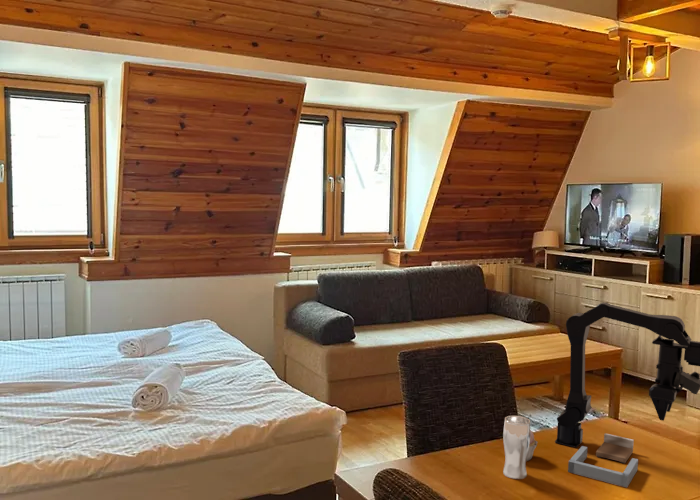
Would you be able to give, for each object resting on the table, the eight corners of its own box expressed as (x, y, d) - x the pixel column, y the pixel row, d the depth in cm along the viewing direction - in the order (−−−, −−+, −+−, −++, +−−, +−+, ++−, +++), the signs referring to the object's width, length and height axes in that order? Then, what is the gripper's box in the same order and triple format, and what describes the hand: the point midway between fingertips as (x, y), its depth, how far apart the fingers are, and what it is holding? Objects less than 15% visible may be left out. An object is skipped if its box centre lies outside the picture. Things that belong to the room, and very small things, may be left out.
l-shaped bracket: (595, 456, 180) (596, 443, 180) (604, 446, 189) (605, 433, 188) (625, 464, 176) (626, 450, 176) (632, 452, 184) (633, 439, 184)
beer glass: (513, 482, 163) (516, 426, 162) (496, 471, 169) (498, 417, 168) (533, 477, 166) (536, 422, 165) (515, 466, 172) (518, 413, 171)
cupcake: (521, 448, 185) (523, 415, 184) (543, 460, 177) (545, 426, 176) (496, 453, 181) (497, 419, 180) (517, 466, 173) (519, 430, 172)
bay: (567, 471, 170) (568, 461, 170) (581, 455, 181) (582, 445, 181) (627, 487, 161) (627, 476, 161) (637, 469, 172) (638, 459, 172)
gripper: (697, 374, 163) (692, 432, 164) (706, 360, 178) (701, 413, 179) (651, 366, 169) (646, 422, 170) (663, 353, 184) (658, 404, 186)
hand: (664, 415), depth 176 cm, fingers open, 9 cm apart
